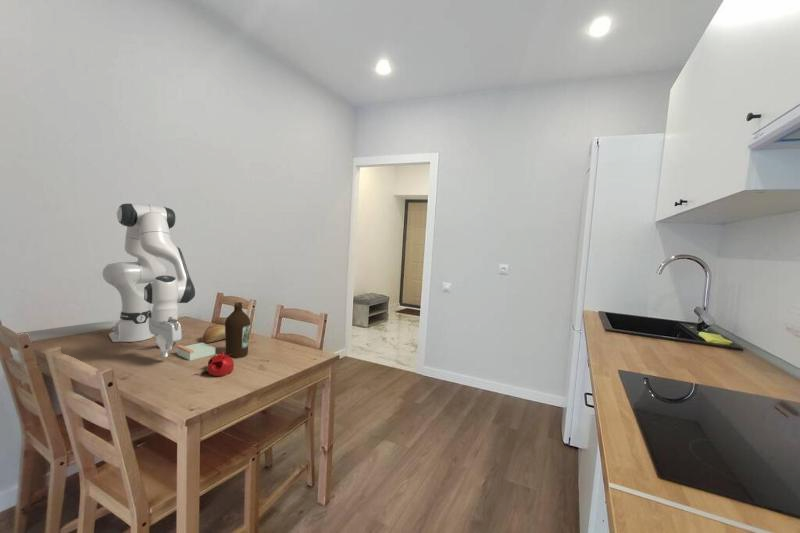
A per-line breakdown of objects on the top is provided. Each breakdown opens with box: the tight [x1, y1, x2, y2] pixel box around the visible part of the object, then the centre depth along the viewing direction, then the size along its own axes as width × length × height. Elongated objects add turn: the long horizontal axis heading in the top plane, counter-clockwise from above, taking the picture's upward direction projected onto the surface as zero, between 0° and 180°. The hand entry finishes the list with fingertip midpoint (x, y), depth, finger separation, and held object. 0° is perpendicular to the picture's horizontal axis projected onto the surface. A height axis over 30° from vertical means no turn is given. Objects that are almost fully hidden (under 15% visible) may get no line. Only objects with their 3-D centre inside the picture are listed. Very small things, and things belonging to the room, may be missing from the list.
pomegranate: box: [206, 350, 235, 377], centre depth 137 cm, size 10×10×9 cm
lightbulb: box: [155, 334, 170, 359], centre depth 140 cm, size 6×6×11 cm
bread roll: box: [202, 324, 225, 344], centre depth 176 cm, size 10×15×8 cm, turn 155°
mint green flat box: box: [176, 341, 216, 361], centre depth 152 cm, size 11×11×4 cm
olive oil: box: [224, 301, 251, 359], centre depth 157 cm, size 11×11×25 cm
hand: (165, 347), depth 141 cm, fingers closed on lightbulb, 5 cm apart
